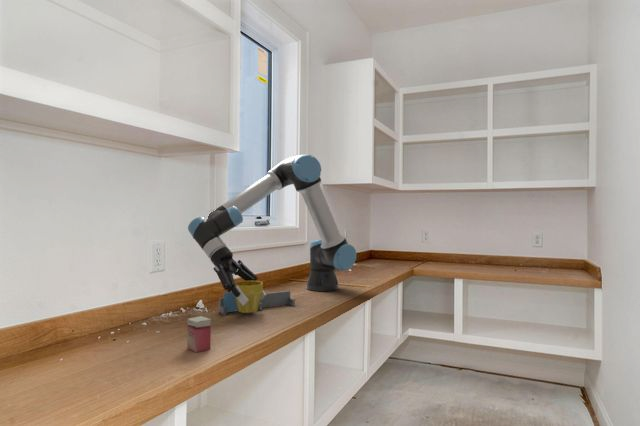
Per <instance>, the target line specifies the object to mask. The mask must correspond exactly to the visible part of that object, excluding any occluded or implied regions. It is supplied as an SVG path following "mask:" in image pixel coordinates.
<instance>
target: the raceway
mask: <svg viewBox="0 0 640 426" xmlns="http://www.w3.org/2000/svg"><path fill="white" fill-rule="evenodd" d="M265 293H266V295H265V296H264V298H263V299H260V301H259V305H258V310H257V311H263V308H269V307H277V306H285V305H290V306H292V307H295V306H296V299H294V298H293V297H291V291H290V290H284V291H275V292H274V291H273V292H265ZM218 299H219V303H218V308H219V309H218V311H219V312H218V313H220V314H222V315H223V316H226V315H227V313H229V312H239V311H238V307H237V302H236V297H235V295H234V294H233V293H232V291H230V292H228V291H226V292H223V297H219V298H218Z"/></svg>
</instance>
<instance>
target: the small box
mask: <svg viewBox="0 0 640 426" xmlns="http://www.w3.org/2000/svg"><path fill="white" fill-rule="evenodd" d="M211 324H212V319H211V318H208V317H205V316H202V315H200V316H196V317H190V318H187V336H186V337H187V339H186V341H187V349H189V350H191V351H192V352H195V353H200V352H204V351H208V350H210V349H211V345H212V344H211V343H212V341H211V339H212V338H211V334H212V330H211V329H212V327H211V326H212V325H211Z"/></svg>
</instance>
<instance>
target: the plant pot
mask: <svg viewBox="0 0 640 426" xmlns="http://www.w3.org/2000/svg"><path fill="white" fill-rule="evenodd" d="M234 282H235V281H234ZM236 286H238V287H239V288H240V289H241V290H242V292H243V293H244V294H245V296H246V297H247V298H248V300H249V301H248V302H247V303H246V304H245V305H244V306H243V305H242V304H241V303H240V301H239V300H238V299H237V297H236V296H235V297H236V302H237V307H238V311H237V312H239V313H244V314H249V313H250V314H251V313H255V312H257V311H259V310H258V305H259V301H260V296H261V293H262V292H263V291H264V283H263V281H260V280H256V281H245V280H239V281H236V282H235V287H236Z"/></svg>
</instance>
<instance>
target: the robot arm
mask: <svg viewBox="0 0 640 426" xmlns="http://www.w3.org/2000/svg"><path fill="white" fill-rule="evenodd" d="M321 166H322V165H321V163H320V161H319V159H317V158H316V157H315V156H313V155H312V154H298V155H296V156H291V157H288V158H286V159H284V160H282V161H280V162H279V163H277V165H275V166H274V167H273V168H271V169H270V170H269V171H267V172H266V175H265V176H264V177H261V179H259V180H258V181H256V182H254V183H253V184H251V185H250V186H248V187H246V188H245V189H243V190H242V191H241V192H239V193H238V194H236V195H234V196H233V197H232V198H231V199H229V200H227V201H226V202H224V203H223V204H222V205H220V206H218V207H216V208H215V209H216V210H215V209H214V210H215V211H214V210H212V211H213V212H211V213H210V214H209V216H208V219H207V220H206V219H205V218H204V217H205V216H204V217H203V216H198V217H196V218H194V219H192V220H191V221H190V223H189V224H188V226H187V230H188V232H189V233H190V235H191V237H192V239H193V240H194V241H195V242H196V243H197V244H198V246H199V247H200V248H201V249H202V251H203V252H204V253H205V255H206V256H207V257H208V259H210V261H211V263H212V264H213V265H214V267H213V271H214V272H215V273H216V274H217V277H218V279H219V281H220V283H221V285H222V287H223V289H224V290H225V291H226V292H232V293H233V294H234V295H235V296H236V297H237V299H238V300H239V301H240V303H241V304H242V305H243V306H244V305H245V304H246V303H247V302H248V301H249V300H248V298H247V297H246V296H245V294H244V293H243V292H242V290H241V289H240V288H239V287H238V286H236V287H235V279H234V275H235V276H238V277H239V278H241V279H242V280H243V281H258V279H259V277H258V276H257V275H256V274H255V273H254V272H253V271H251V270H250V269H249V267H247V266H246V265H245V264H244V263H243V262H242V260H241V259H239V260H237V261H236V260H234V258H233V257H234V254H233V252H232V251H231V250H230V249H229V247H228V246H227V245H226V243H225V242H224V241H223V239H222V238H221V237H220V236H222V235H224V234H225V233H227V232H228V231H231V230H233V229H234V228H235V227H238V226H239V225H240V224H241V223H243V221H244V218H243V215H242V214H243V213H244V212H246V211H247V210H250V208H252V207H253V206H255V205H256V204H258V203H259V202H260V201H262V200H263V199H265V198H266V197H267V196H269V195H271V194H272V193H274V192H275V191H280V190H282V189H283V188H285V187H287V186H291V185H293V187H294V188H295V191H296V192H298V193H300V194H301V196H302V199H303V201H304V203H305V205H306V208H307V210H308V212H309V215H310V217H311V218H312V219H311V220H312V221H313V224H314V226H315V228H316V231H317V232H318V236H319V237H320V239H317V240H312V241H311V242H310V245H309V253H310V254H309V256H310V257H309V260H310V262H309V263H310V264H309V265H310V266H309V267H310V270H309V271H310V272H309V274H308V275H309V276H308V279H307V281H306V289H307V290H309V291H313V292H332V291H337V290H339V282H338V279H337V275H336V272H335V271H336V270H337V271H348V270H349V269H351V268H353V266H354V264H355V263H356V260H357V251H356V248H355V247H354V246H353V245H351V244H349V243H348V241H347V238H346V236H345V235H343V234H341V233H340V231H339V229H338V226H337V223H336V221H335V218H334V216H333V214H332V212H331V210H330V207H329V205H328V202H327V200H326V197H325V195H324V192H323V191H322V190H323V189H322V188H321V182H322V179H321V172H322V167H321ZM266 293H267V292H265V291H264V290H263V292H262V293H261V296H260V299H263V298H264V296H265V295H266Z"/></svg>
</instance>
